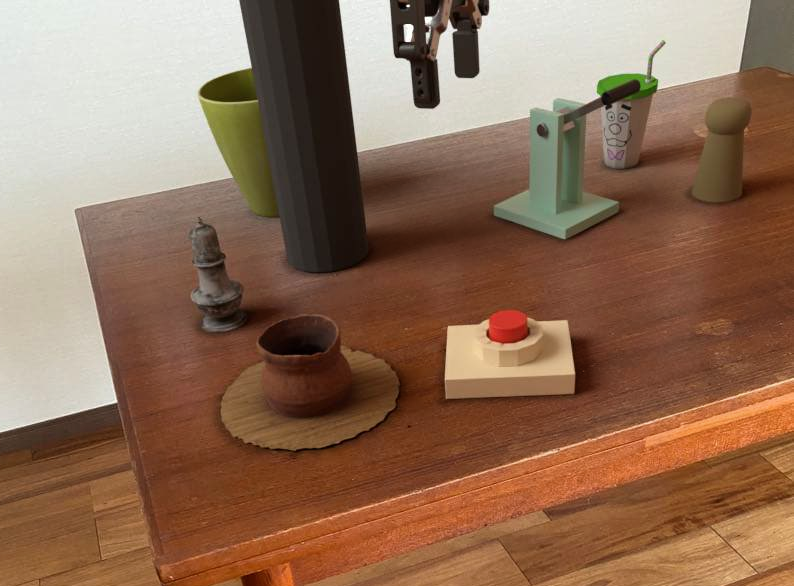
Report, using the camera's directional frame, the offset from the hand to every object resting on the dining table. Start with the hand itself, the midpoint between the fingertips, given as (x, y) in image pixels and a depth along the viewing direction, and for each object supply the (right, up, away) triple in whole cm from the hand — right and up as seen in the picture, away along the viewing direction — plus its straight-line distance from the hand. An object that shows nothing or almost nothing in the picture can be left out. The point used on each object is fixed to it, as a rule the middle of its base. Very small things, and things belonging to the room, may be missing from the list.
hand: (448, 91), depth 79 cm
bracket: (+16, +1, +33) cm, 37 cm away
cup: (+27, +12, +44) cm, 53 cm away
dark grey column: (-13, -5, +31) cm, 34 cm away
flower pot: (-21, +6, +44) cm, 49 cm away
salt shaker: (-24, -15, +21) cm, 36 cm away
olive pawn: (+36, +4, +33) cm, 50 cm away
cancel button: (+6, -20, +6) cm, 22 cm away
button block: (+6, -23, +8) cm, 25 cm away
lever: (+18, +8, +22) cm, 30 cm away
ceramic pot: (-13, -26, +8) cm, 30 cm away
